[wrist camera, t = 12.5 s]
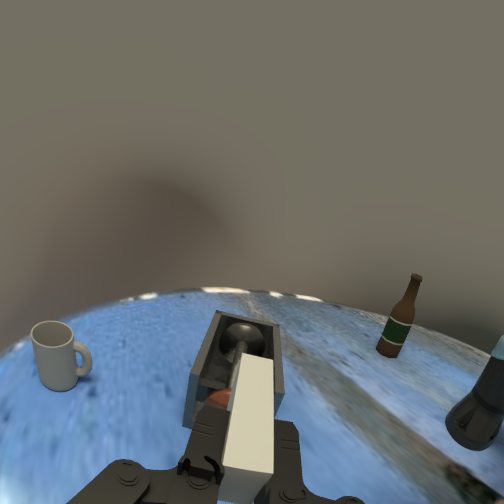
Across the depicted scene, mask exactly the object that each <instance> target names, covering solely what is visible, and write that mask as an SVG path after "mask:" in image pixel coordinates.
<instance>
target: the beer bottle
mask: <svg viewBox="0 0 504 504" xmlns="http://www.w3.org/2000/svg"><path fill="white" fill-rule="evenodd" d="M421 281H422V277H421V276H420V275H417V274H412V275H411V280H410V283H409V285H408V288H407V290H406V292H405V295H404V297H403V298H402V300H401V301H399V302H398V303H397V304H396V305H395V307H394V308H393V310H392V312H391V314H390V316H389V319H388V321H387V324H386V326H385V328H384V331H383V333H382V335H381V338H380V340H379V342H378V345H377V347H376V350H377V351H378V352H379V353H380V354H381V355H383V356H386V357H388V358H396V357H397V356H398V354H399V352H400V350H401V348H402V346H403V344H404V341H405V339H406V337H407V335H408V333H409V330H410V328H411V326H412V323H413V320H414V316H415V307H414V303H415V299H416V296H417V292H418V289H419V286H420V282H421Z"/></svg>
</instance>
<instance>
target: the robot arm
mask: <svg viewBox="0 0 504 504" xmlns="http://www.w3.org/2000/svg"><path fill="white" fill-rule="evenodd" d="M491 355H492V356H491V358H490V359H489V361H488V363H487V365H486V367H485V369H484V370H483V372H482V374H481V376H480V377H479V379H478V381H477V382H476V384H475V386H474V387H473V389H472V390H471V392H470V393H469V394H467V395H466V396H465V397H464V398H463V399H462V400H461V401H460V402H458V403H457V404H456V405H455V406H454V407H453V408H452V409H451V411H450V412H449V414H448V415H447V417H446V426H447V429H448V431H449V433H450V434H451V435H452V437H453V438H454V439H455V440H456V441H457V442H458V443H460V444H461V445H463V446H464V447H466V448H469V449H472V450H484V449H486V448H488V447H489V446H490V444H491V443H492V442H493V441H494V440H495V438H496V436H497V434H498V432H499V430H500V427H501V425H502V422H503V420H504V335H503V336H502V337H501V338H500V340H499V342H498V344H497V346H496V347H495V349H494V350H493V352H492V353H491ZM217 500H220V501H225V502H231V503H237V504H252V503H253V502H254V504H365V503H364V502H363V501H362V500H360V499H359V498H357V497H353V496H343V497H341V498H339V499H337V500H336V501H335V500H331V499H327V498H323V497H320V496H317V495H315V494H313V493H312V492H310V491H309V490H308V489H307V487H306V486H305V485H304V483H303V479H302V467H301V455H300V444H299V433H298V430H297V429H296V427H295V425H294V424H293V422H288V421H282V420H275V419H274V393H273V360H271V359H266V358H262V357H257V356H253V355H249V354H245V353H242V356H241V359H240V362H239V366H238V369H237V373H236V376H235V379H234V383H233V386H232V389H231V393H230V397H229V402H228V407H227V410H223V409H219V408H216V407H212V406H208V405H205V406H204V407H203V408H202V409H201V410H199V411H198V413H197V416H196V419H195V422H194V425H193V428H192V431H191V435H190V438H189V441H188V444H187V447H186V450H185V453H184V455H183V456H182V457H181V459H180V460H179V462H178V466H176V467H174V468H172V469H169V470H150V469H145V468H144V467H143V466H141V465H140V464H139V463H137V462H134V461H132V460H126V459H121V460H115V461H114V462H112V463H110V464H109V465H108V466H107V467H106V468H105V469H104V470H103V471H102V472H101V473H99V474H98V475H97V476H96V477H95V478H94V479H93V480H92V481H91V482H90V483H89V484H88V485H86V486H85V487H84V488H83V489H82V490H81V491H80V492H79V493H78V494H77V495H75V496H74V497H73V498H72V499H71V500H70V501H69V502H68V503H66V504H217Z"/></svg>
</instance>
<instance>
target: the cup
mask: <svg viewBox="0 0 504 504" xmlns="http://www.w3.org/2000/svg"><path fill="white" fill-rule="evenodd" d="M31 339H32V345H33V350H34V355H35V360H36V364H37V369H38V373H39V377H40V380H41V382H42V383H43V384H44V385H45V386H46V387H47V388H49V389H51V390H54V391H67V390H69V389H71V388H73V387H74V386H75V384H76V383H77V381H78V377H83V376H86V375H87V374H89V373H90V371H91V369H92V357H91V354H90V352H89V350H88V349H87V347H86V346H85V345H84V344H82V343H80V342H78V341H74V333H73V330H72V329H71V328H70V327H69V326H68V325H66V324H64V323H62V322H58V321H45V322H41V323H39V324H37V325H35V326H34V327H33V329H32V330H31ZM75 352H78V353H80V354H81V356H82V359H83V365H82V367H77V362H76V354H75Z"/></svg>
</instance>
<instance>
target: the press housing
mask: <svg viewBox="0 0 504 504" xmlns="http://www.w3.org/2000/svg"><path fill="white" fill-rule="evenodd" d="M235 323H248V324H251V325H253V326H255V327H257V328H258V329H259V330H260V331H261V332H262V334H263V335H264V338H265V351H264V354H263V355H262V358H266V359H271V360H273V393H274V417H275V415H276V413H277V411H278V408H279V406H280V404H281V401H282V399H283V397H284V394H285V391H284V378H283V365H282V353H281V341H280V329H279V325H278V324H273V323H269V322H264V321H260V320H255V319H251V318H247V317H243V316H238V315H234V314H230V313H226V312H222V311H218V310H216V312H215V314H214V317H213V319H212V321H211V324H210V326H209V329H208V331H207V333H206V336H205V338H204V341H203V343H202V345H201V348H200V350H199V352H198V355H197V357H196V360H195V362H194V365H193V367H192V369H191V372H190V376H189V383H188V389H187V396H186V403H185V410H184V417H183V424H182V426H183V427H187V428H191V429H192V428H193V425H194V422H195V419H196V416H197V413H198V411H199V410H201V409H202V407H203V404H204V401H205V398H206V397H207V395H208V394H209V393H211V392H212V391H215V390H217V389H221V388H228V383H229V378H230V373H231V368H232V362H230V361H228V360H227V359H226V358H225V357H224V356H223V355H222V354H221V352H220V349H219V340H220V336H221V334H222V332H223V331H224V330H225V328H227V327H228V326H230V325H232V324H235Z"/></svg>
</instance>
